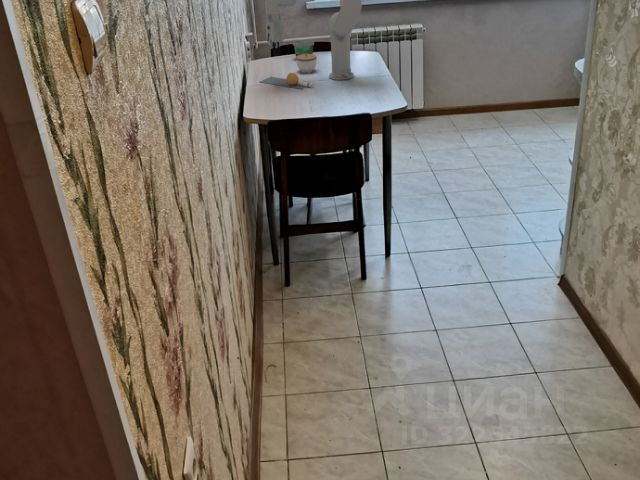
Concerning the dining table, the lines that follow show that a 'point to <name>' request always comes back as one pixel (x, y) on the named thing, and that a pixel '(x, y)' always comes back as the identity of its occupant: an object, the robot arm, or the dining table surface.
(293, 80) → the ball
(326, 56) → the dining table surface
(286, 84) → the grey flat board
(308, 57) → the lidded jar
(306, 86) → the pin
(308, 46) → the food container
